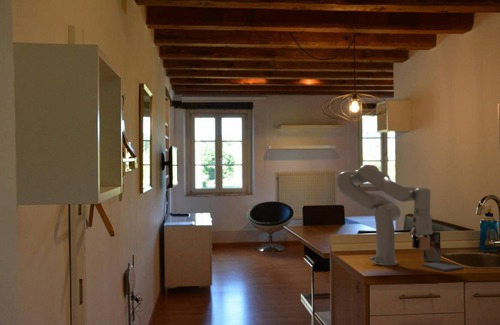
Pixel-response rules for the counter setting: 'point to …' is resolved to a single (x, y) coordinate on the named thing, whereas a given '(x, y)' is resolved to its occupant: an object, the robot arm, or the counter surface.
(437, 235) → the coffee box
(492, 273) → the counter surface
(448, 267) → the mat
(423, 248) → the terracotta cube
